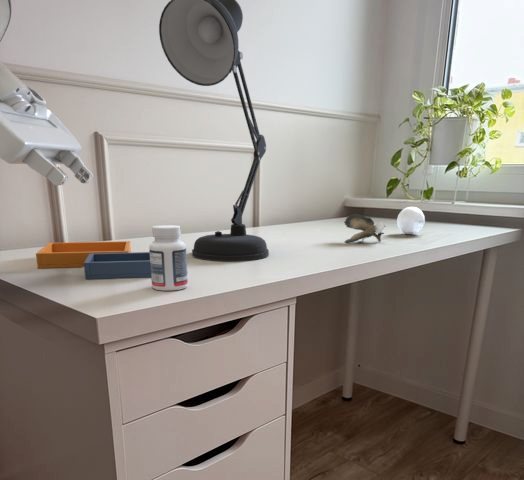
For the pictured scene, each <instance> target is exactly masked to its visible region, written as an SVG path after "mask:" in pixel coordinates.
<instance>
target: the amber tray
mask: <svg viewBox="0 0 524 480" xmlns="http://www.w3.org/2000/svg"><path fill="white" fill-rule="evenodd" d="M91 253H132V247H131V241H130V240H129V241H128V240H125V241H120V240H119V241H118V240H117V241H77V242H76V241H75V242H74V241H73V242H71V241H70V242H66V241H65V242H48V243H47V244H45V245H44V246H43V247H41V248H40V249H39V250H38V251H37V252H36V253H35V258H36V266H37V269H64V268H67V269H68V268H84V262H85V260H86V259H87V257H88V255H89V254H91Z"/></svg>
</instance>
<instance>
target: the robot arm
mask: <svg viewBox="0 0 524 480" xmlns="http://www.w3.org/2000/svg"><path fill="white" fill-rule="evenodd" d="M11 17H12V0H0V42H2V39H3V38H4V36H5V34H6V32H7V29H8V27H9V25H10V22H11V19H12V18H11ZM46 105H47V100H45V98H44V97H42V95H40V94H39V93H38V92H37V91H36V90H34V89H32V88H31V87H29V86H28V85H26V84H25V83H24V82H23V81H22V80H21V79H20V78H18V76H16V75H15V74H14V73H13V72H12V71H11V70H10V69H9V68H8V67H6V65H5V64H4V63H3V62H2V61H0V160H2V161H4V162H6V163H8V164H10V165H27V166H28V167H29V168H30V169H32V170H34V171H35V172H36V173H38V174H40V175H41V176H43V177H45V178H46V179H47V180H48V181H49V182H50V183H52V185H54V186H56V187H58V186H63V185H64V184H65V182H67V181H68V179H69V176H68V174H67V173H66V172H65V171H64V170H63V169H62V168H61V167H60V166H57V165H64V166H65V167H66V168H67V169H69V170H70V171H71V172H72V173H73V174H74V177H75V179H77V180H78V181H79V182H80V183H81V184H89V183H90V182H91V180H92V179H94V174H93V173H92V172H91V171H90V169H89V168H87V167H86V165H85V164H84V162H83V161H82V158H80V156H79V154H80V153H81V152H82V150H83V148H82V145H81V144H80V142H79V141H78V139H77V138H76V137H75V136H74V134H73V133H72V132H71V131H70V130H69V129H68V127H66V125H65V124H64V123H63V122H62V121H61V120H60V119H59V118H58V117H57V116H56V115H55V114H54V113H53V112H52V111H51V110H50V109H49V108H47V107H46Z"/></svg>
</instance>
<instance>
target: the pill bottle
mask: <svg viewBox="0 0 524 480" xmlns="http://www.w3.org/2000/svg"><path fill="white" fill-rule="evenodd" d="M151 231H152V232H151V233H152V234H151V235H152V237H153V238H154V241H152V242H150V243H149V247H148V248H149V249H148V250H149V251H148V252H150V265H151V277H150V278H151V287H152V288H153V289H154V290H157V291H162V292H164V291H165V292H168V291H180V290H183V289H184V290H185V289H186V288H187V287H188V285H189V280H188V279H189V278H188V262H187V261H188V260H187V245H186V243H185V242H184V241H183V240H180V239H181V236H182V233H181V226H180V225H173V224H162V225H153V226H151Z"/></svg>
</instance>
